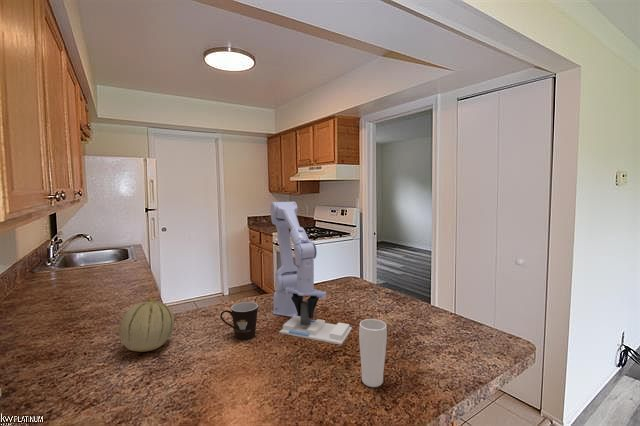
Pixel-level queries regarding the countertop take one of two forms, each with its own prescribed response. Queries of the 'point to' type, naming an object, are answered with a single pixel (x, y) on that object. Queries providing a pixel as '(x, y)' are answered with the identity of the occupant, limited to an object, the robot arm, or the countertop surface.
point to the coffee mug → (243, 320)
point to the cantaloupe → (146, 326)
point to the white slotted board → (317, 330)
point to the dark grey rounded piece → (304, 313)
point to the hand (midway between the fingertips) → (305, 316)
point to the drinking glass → (372, 351)
